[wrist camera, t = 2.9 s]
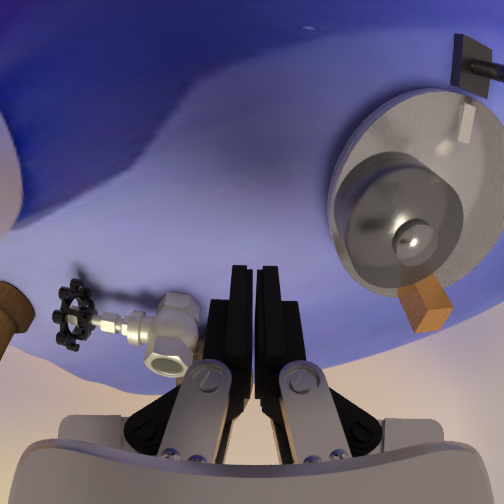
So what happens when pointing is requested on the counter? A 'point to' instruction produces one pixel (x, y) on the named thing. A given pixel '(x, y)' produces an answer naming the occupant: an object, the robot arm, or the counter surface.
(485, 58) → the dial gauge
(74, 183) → the counter surface
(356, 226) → the cover
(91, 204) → the counter surface
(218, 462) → the robot arm
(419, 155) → the turntable
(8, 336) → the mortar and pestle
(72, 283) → the valve
